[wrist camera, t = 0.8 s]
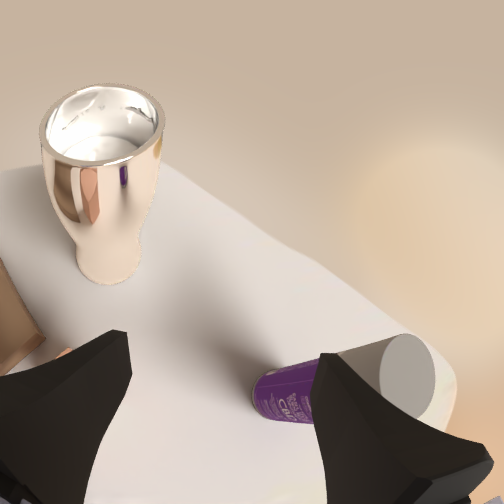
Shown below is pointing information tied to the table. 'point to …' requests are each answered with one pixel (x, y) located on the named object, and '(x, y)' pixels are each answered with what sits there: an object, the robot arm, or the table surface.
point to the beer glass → (103, 173)
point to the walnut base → (15, 325)
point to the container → (366, 366)
